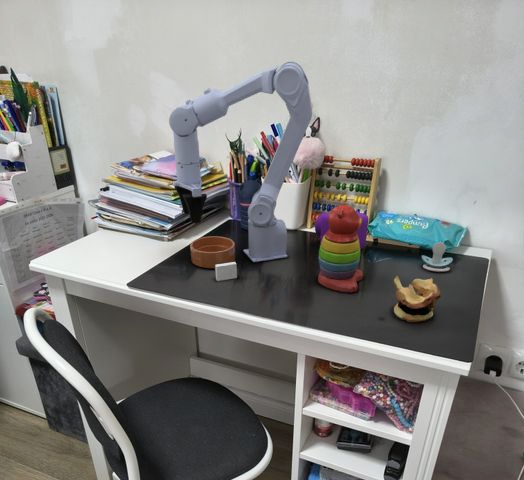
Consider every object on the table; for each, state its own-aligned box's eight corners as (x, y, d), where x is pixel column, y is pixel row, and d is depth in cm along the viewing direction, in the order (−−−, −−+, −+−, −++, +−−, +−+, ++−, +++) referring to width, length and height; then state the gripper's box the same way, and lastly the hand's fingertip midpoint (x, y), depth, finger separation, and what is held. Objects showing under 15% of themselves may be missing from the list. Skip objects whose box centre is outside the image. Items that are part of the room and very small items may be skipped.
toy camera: (325, 235, 141) (328, 200, 136) (369, 246, 135) (374, 209, 129) (305, 247, 134) (307, 210, 128) (350, 259, 127) (355, 221, 122)
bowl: (227, 250, 132) (226, 234, 130) (241, 266, 124) (240, 249, 121) (187, 256, 129) (185, 239, 126) (198, 272, 120) (196, 255, 118)
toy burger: (429, 331, 97) (438, 293, 93) (381, 320, 101) (386, 283, 97) (441, 305, 106) (449, 270, 102) (396, 296, 110) (401, 261, 105)
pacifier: (451, 275, 120) (450, 264, 125) (457, 250, 116) (455, 240, 121) (420, 272, 121) (419, 261, 126) (425, 248, 117) (424, 238, 122)
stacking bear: (355, 294, 111) (364, 216, 101) (311, 287, 114) (316, 210, 104) (364, 275, 119) (373, 201, 109) (323, 269, 122) (328, 196, 112)
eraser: (215, 279, 117) (215, 264, 115) (235, 275, 119) (234, 261, 117) (217, 281, 116) (216, 266, 114) (236, 278, 118) (236, 263, 116)
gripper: (164, 156, 123) (170, 211, 130) (178, 170, 111) (183, 229, 119) (192, 154, 125) (196, 208, 132) (208, 167, 113) (211, 225, 121)
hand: (192, 217), depth 126 cm, fingers open, 7 cm apart
